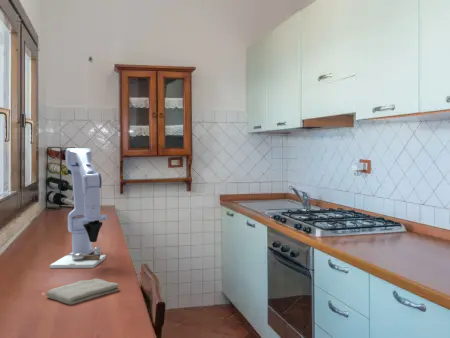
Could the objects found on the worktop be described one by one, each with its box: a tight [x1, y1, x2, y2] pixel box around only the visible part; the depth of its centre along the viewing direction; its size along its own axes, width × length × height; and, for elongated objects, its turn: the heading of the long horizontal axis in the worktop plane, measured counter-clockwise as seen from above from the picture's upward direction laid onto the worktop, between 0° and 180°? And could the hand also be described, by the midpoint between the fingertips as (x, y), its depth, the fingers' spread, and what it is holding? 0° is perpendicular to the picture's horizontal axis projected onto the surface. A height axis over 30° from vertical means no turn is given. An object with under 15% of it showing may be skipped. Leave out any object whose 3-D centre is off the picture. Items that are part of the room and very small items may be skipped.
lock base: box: [49, 254, 107, 269], centre depth 175 cm, size 16×16×1 cm
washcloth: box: [46, 278, 120, 306], centre depth 136 cm, size 12×18×3 cm, turn 142°
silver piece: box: [72, 246, 102, 260], centre depth 175 cm, size 11×5×4 cm, turn 91°
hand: (93, 241), depth 172 cm, fingers closed
